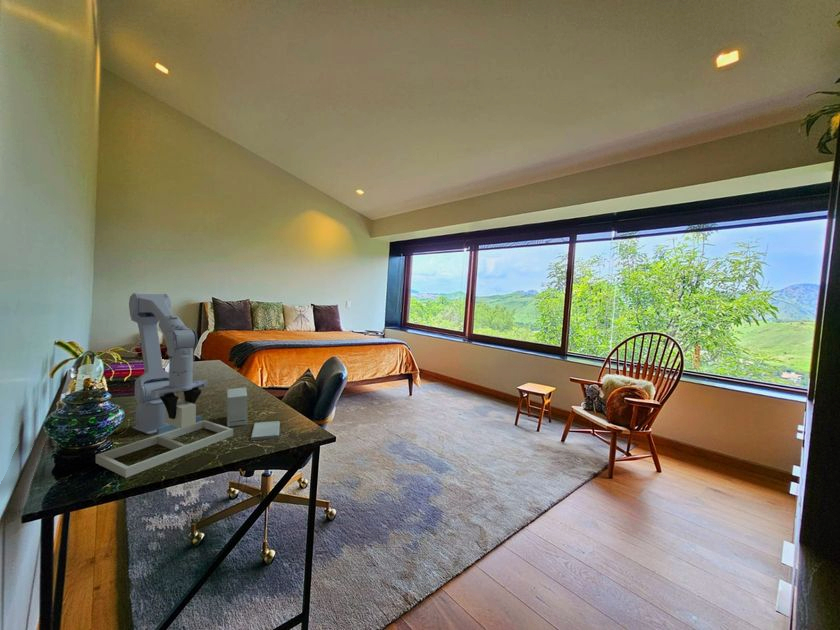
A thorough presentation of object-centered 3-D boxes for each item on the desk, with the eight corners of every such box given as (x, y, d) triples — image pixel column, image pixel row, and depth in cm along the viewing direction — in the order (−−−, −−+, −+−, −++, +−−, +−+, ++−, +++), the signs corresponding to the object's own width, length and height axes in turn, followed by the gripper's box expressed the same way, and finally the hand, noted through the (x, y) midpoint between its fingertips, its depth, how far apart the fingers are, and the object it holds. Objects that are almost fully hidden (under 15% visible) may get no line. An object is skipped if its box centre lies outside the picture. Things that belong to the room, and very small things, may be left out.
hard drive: (279, 435, 111) (279, 420, 122) (250, 437, 108) (254, 422, 119) (278, 440, 111) (279, 425, 123) (250, 442, 108) (254, 427, 120)
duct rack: (93, 461, 90) (93, 447, 90) (202, 425, 117) (202, 414, 116) (125, 477, 84) (125, 462, 84) (233, 435, 111) (233, 423, 110)
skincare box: (226, 416, 126) (227, 388, 125) (246, 414, 129) (246, 386, 128) (226, 427, 117) (226, 397, 116) (247, 424, 120) (248, 395, 119)
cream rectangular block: (164, 422, 102) (165, 402, 101) (179, 418, 106) (179, 399, 105) (181, 428, 99) (181, 408, 98) (195, 424, 102) (196, 404, 102)
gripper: (161, 377, 93) (161, 426, 94) (213, 368, 106) (212, 411, 107) (147, 373, 96) (146, 421, 97) (199, 364, 109) (198, 406, 110)
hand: (180, 415), depth 102 cm, fingers closed on cream rectangular block, 4 cm apart
